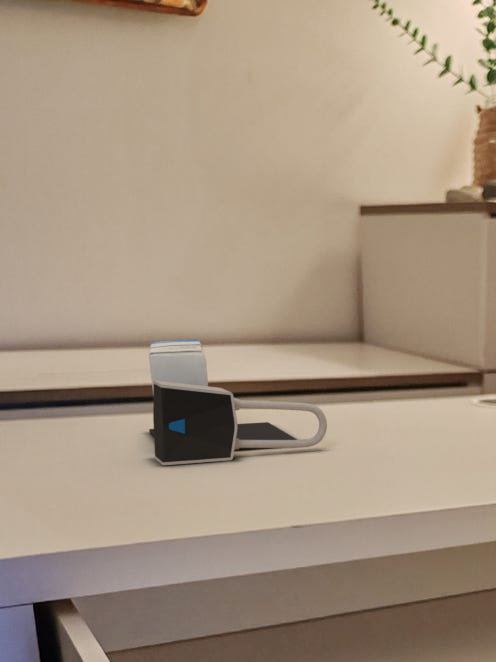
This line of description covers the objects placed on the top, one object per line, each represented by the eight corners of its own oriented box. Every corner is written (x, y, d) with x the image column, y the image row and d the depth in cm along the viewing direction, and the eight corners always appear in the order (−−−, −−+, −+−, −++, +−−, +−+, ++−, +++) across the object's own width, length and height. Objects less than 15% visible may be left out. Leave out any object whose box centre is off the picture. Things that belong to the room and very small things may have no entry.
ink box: (149, 340, 100) (146, 350, 89) (202, 339, 101) (205, 349, 90) (159, 429, 103) (157, 449, 92) (210, 426, 104) (214, 446, 93)
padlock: (154, 457, 90) (318, 458, 97) (163, 466, 87) (333, 466, 93) (152, 379, 88) (320, 385, 95) (162, 385, 84) (335, 390, 91)
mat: (149, 432, 103) (149, 428, 103) (268, 425, 108) (268, 422, 107) (170, 454, 92) (169, 450, 92) (301, 446, 96) (301, 441, 96)
